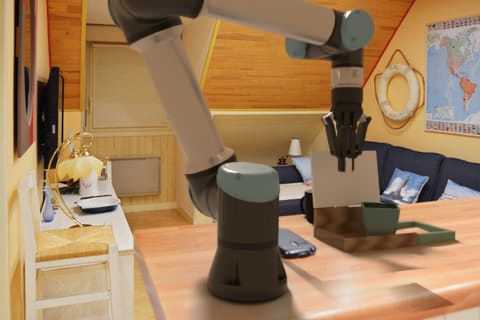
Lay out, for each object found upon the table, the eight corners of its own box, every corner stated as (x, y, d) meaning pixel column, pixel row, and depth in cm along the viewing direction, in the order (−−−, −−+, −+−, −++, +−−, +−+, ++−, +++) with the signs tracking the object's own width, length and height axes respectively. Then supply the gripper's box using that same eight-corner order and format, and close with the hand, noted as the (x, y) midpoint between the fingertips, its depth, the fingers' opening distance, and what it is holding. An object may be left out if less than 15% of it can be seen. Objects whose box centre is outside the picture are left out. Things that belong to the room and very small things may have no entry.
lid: (311, 151, 119) (309, 151, 119) (315, 208, 117) (313, 208, 118) (376, 150, 126) (374, 151, 126) (380, 204, 124) (378, 204, 125)
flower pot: (399, 245, 111) (400, 208, 111) (362, 243, 113) (362, 207, 112) (395, 237, 120) (396, 202, 119) (360, 235, 122) (360, 201, 121)
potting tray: (418, 244, 112) (418, 234, 112) (380, 232, 125) (380, 223, 125) (455, 241, 116) (455, 231, 116) (414, 229, 129) (415, 220, 129)
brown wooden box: (346, 252, 104) (347, 219, 104) (313, 237, 118) (314, 208, 118) (417, 245, 111) (418, 214, 111) (378, 232, 125) (379, 204, 125)
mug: (341, 226, 133) (342, 191, 132) (321, 230, 127) (322, 194, 126) (310, 219, 142) (310, 187, 141) (289, 223, 136) (290, 189, 135)
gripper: (331, 85, 104) (330, 188, 106) (379, 86, 109) (377, 185, 111) (315, 87, 111) (314, 184, 113) (360, 89, 116) (359, 182, 118)
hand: (345, 185), depth 112 cm, fingers closed
